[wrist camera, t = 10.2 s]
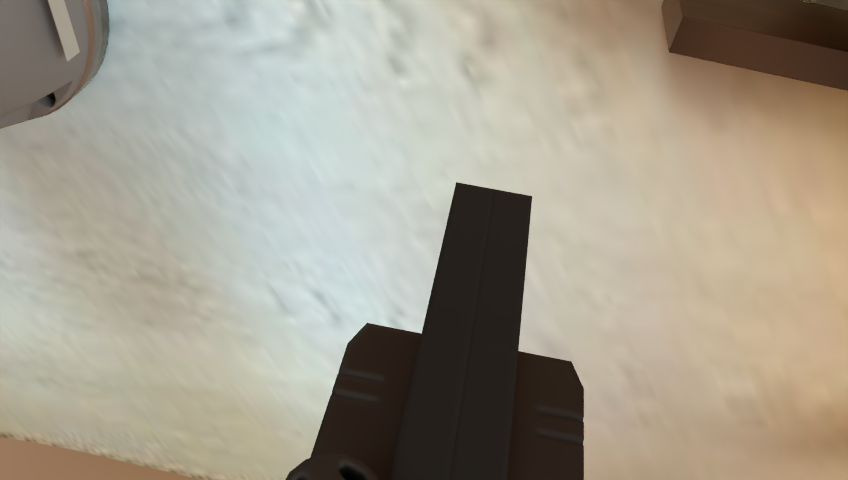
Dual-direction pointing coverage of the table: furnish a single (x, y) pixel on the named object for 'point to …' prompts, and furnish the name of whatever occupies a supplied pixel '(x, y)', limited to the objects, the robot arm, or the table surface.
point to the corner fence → (763, 37)
